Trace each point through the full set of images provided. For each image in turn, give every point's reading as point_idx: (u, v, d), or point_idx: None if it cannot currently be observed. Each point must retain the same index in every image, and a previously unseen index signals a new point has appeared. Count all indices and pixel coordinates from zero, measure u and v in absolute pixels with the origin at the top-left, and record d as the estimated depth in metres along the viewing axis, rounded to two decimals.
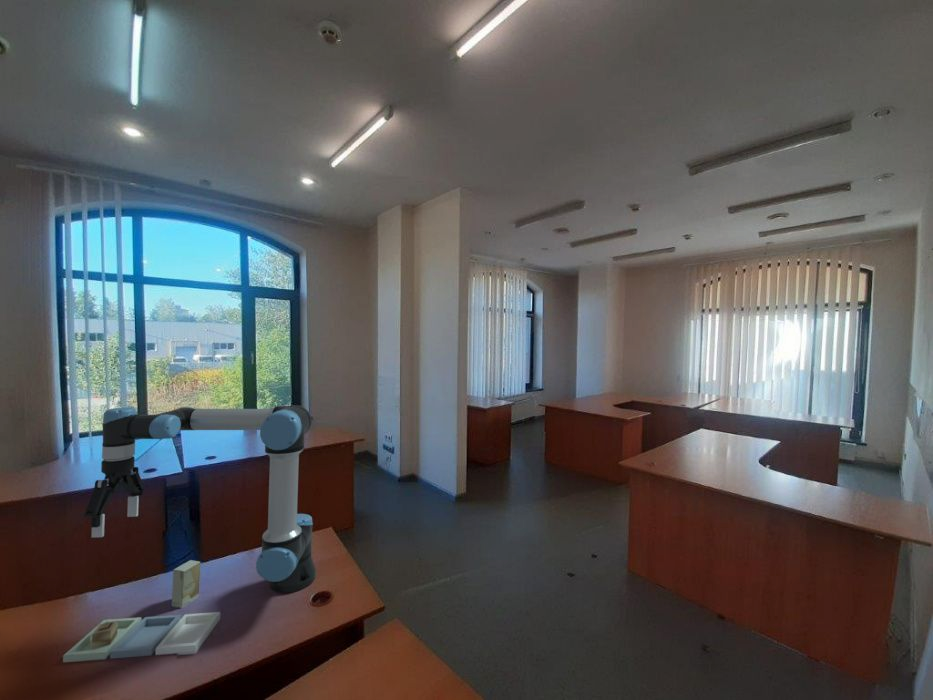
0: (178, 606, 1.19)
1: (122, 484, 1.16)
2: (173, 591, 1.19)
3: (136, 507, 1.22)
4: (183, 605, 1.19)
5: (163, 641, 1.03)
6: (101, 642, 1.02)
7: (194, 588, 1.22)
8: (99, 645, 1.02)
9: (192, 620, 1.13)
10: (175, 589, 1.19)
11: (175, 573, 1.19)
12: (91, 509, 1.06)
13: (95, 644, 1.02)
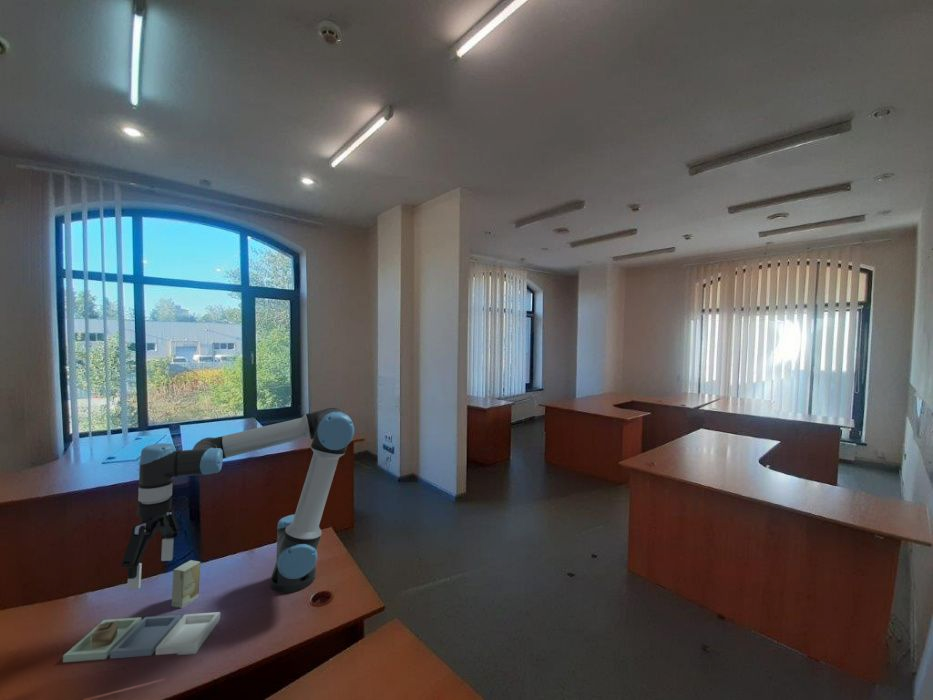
0: (178, 606, 1.19)
1: (158, 527, 1.07)
2: (173, 591, 1.19)
3: (171, 550, 1.13)
4: (183, 605, 1.19)
5: (163, 641, 1.03)
6: (101, 642, 1.02)
7: (194, 588, 1.22)
8: (99, 645, 1.02)
9: (192, 620, 1.13)
10: (175, 589, 1.19)
11: (175, 573, 1.19)
12: (128, 559, 0.97)
13: (95, 644, 1.02)
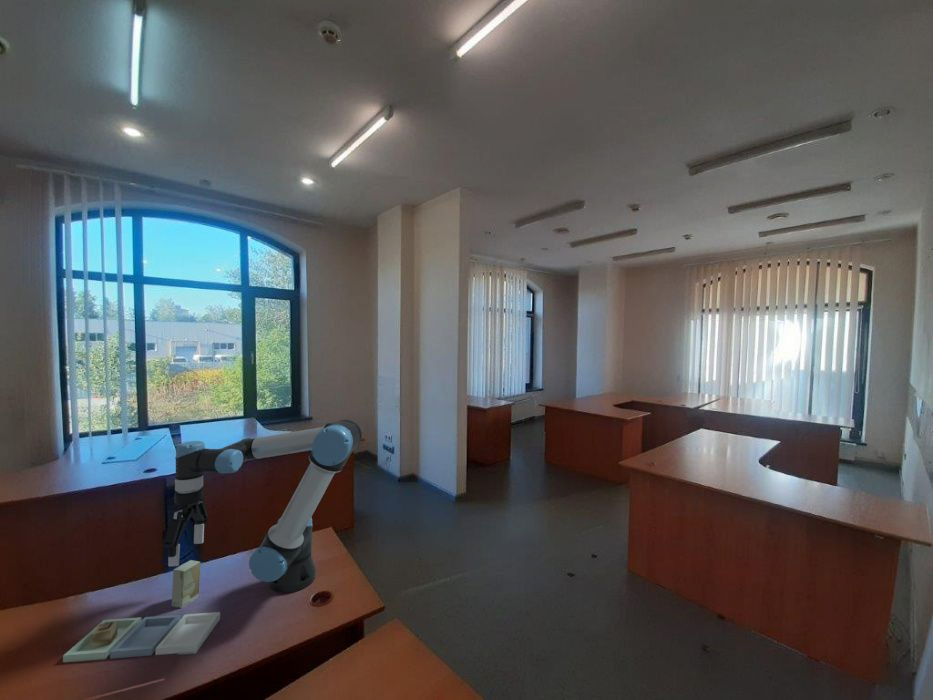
0: (178, 606, 1.19)
1: (192, 514, 1.22)
2: (173, 591, 1.19)
3: (202, 534, 1.28)
4: (183, 605, 1.19)
5: (163, 641, 1.03)
6: (101, 642, 1.02)
7: (194, 588, 1.22)
8: (99, 645, 1.02)
9: (192, 620, 1.13)
10: (175, 589, 1.19)
11: (175, 573, 1.19)
12: (169, 540, 1.12)
13: (95, 644, 1.02)
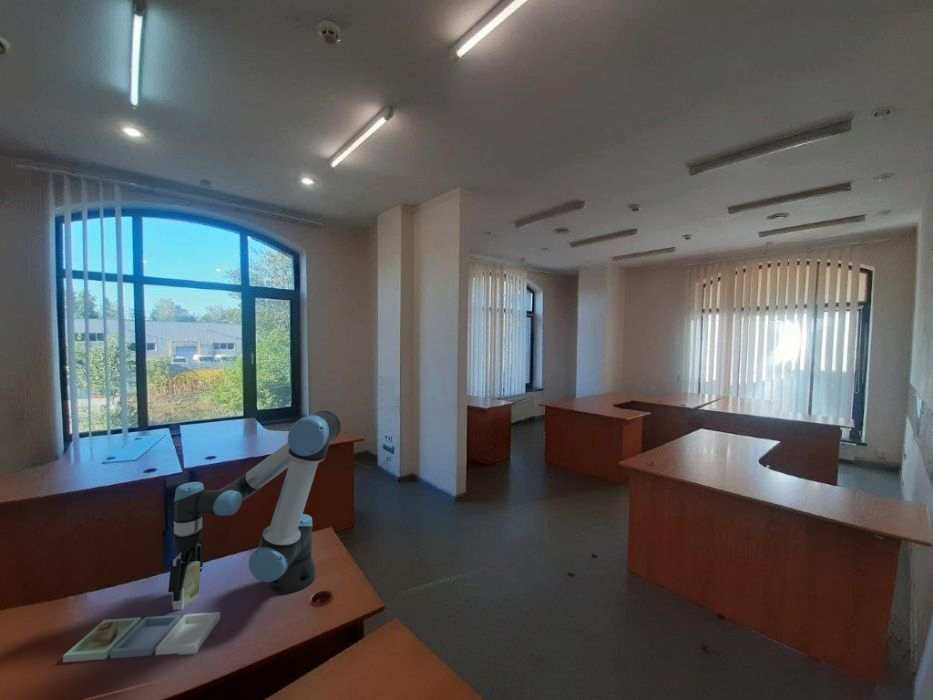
0: None
1: (191, 556, 1.22)
2: None
3: None
4: None
5: (163, 641, 1.03)
6: (101, 642, 1.02)
7: (194, 588, 1.22)
8: (99, 645, 1.02)
9: (192, 620, 1.13)
10: None
11: None
12: (173, 586, 1.15)
13: (95, 644, 1.02)
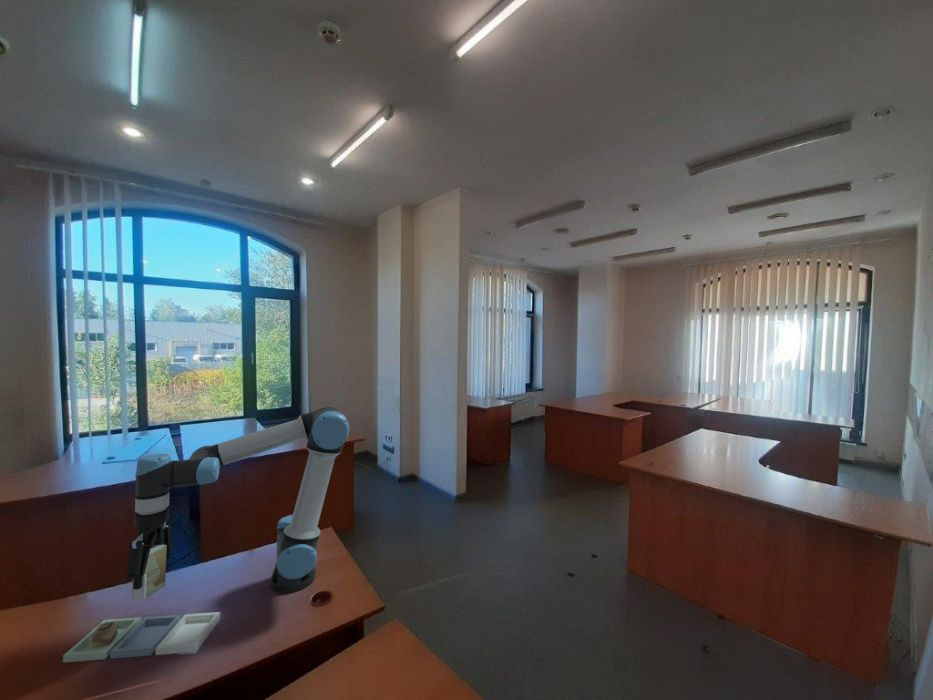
0: None
1: (156, 538, 1.07)
2: None
3: None
4: None
5: (163, 641, 1.03)
6: (101, 642, 1.02)
7: (159, 575, 1.07)
8: (99, 645, 1.02)
9: (192, 620, 1.13)
10: None
11: None
12: (132, 572, 0.99)
13: (95, 644, 1.02)
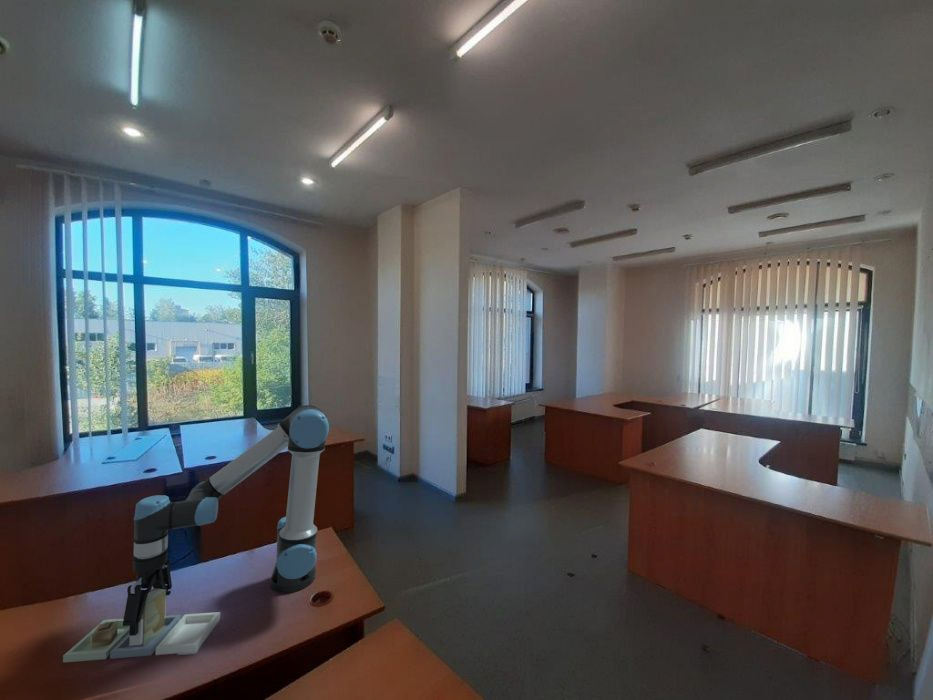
0: None
1: (154, 580, 1.07)
2: None
3: None
4: (145, 641, 1.03)
5: (163, 641, 1.03)
6: (101, 642, 1.02)
7: (158, 621, 1.07)
8: (99, 645, 1.02)
9: (192, 620, 1.13)
10: None
11: None
12: (129, 618, 0.98)
13: (95, 644, 1.02)
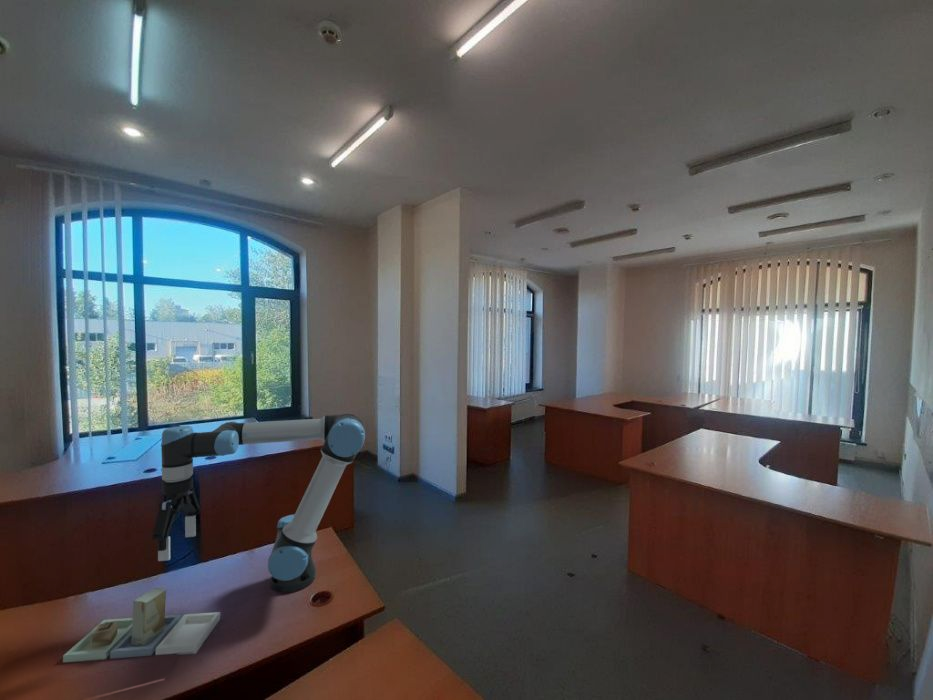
0: (139, 643, 1.03)
1: (182, 505, 1.13)
2: (133, 625, 1.03)
3: (194, 527, 1.19)
4: (145, 641, 1.03)
5: (163, 641, 1.03)
6: (101, 642, 1.02)
7: (158, 621, 1.07)
8: (99, 645, 1.02)
9: (192, 620, 1.13)
10: (135, 623, 1.03)
11: (135, 605, 1.04)
12: (158, 532, 1.03)
13: (95, 644, 1.02)
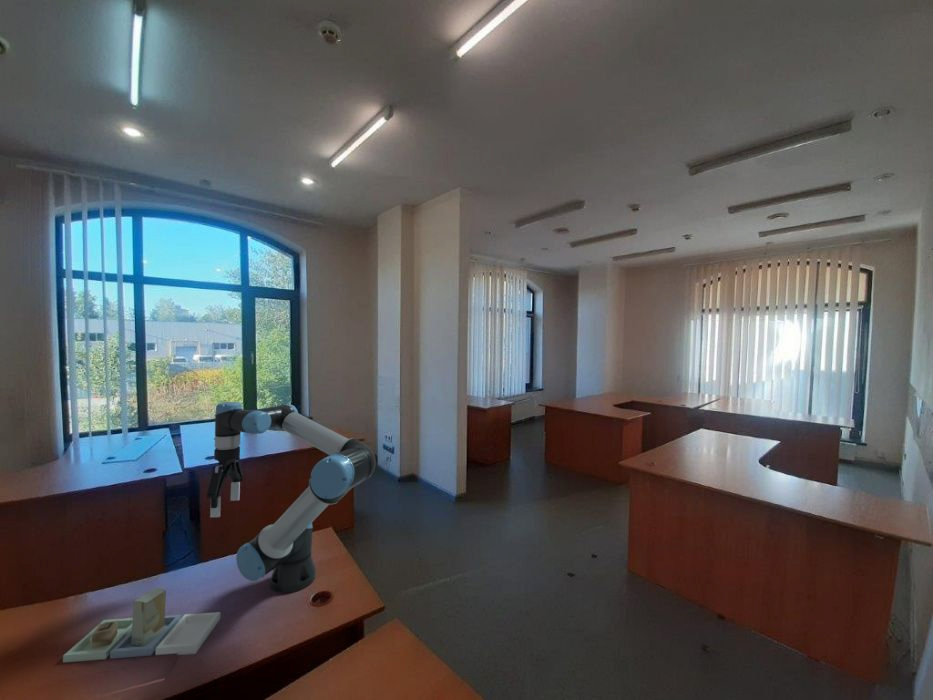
0: (139, 643, 1.03)
1: (230, 470, 1.29)
2: (133, 625, 1.03)
3: (238, 492, 1.35)
4: (145, 641, 1.03)
5: (163, 641, 1.03)
6: (101, 642, 1.02)
7: (158, 621, 1.07)
8: (99, 645, 1.02)
9: (192, 620, 1.13)
10: (135, 623, 1.03)
11: (135, 605, 1.04)
12: (212, 492, 1.19)
13: (95, 644, 1.02)
